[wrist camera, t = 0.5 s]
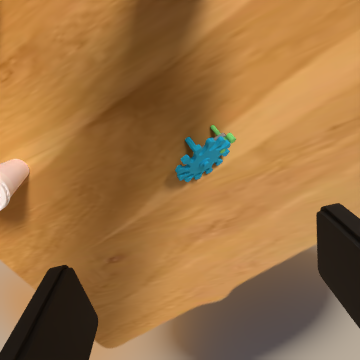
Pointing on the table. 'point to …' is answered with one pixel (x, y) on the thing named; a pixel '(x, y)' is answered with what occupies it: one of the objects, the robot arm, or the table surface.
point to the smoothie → (11, 179)
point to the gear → (204, 155)
